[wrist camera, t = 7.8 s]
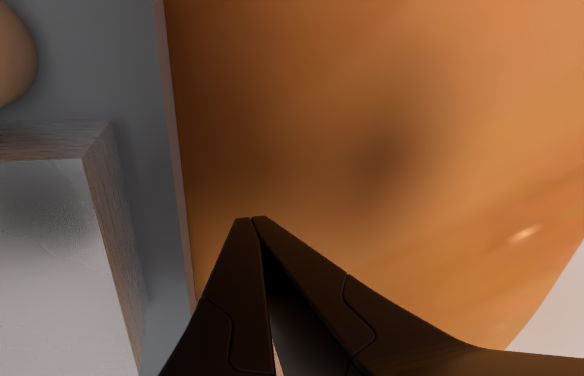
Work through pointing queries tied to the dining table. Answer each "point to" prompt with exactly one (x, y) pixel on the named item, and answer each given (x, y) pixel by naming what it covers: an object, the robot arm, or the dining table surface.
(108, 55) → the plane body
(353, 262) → the dining table surface
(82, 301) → the light grey flat block
